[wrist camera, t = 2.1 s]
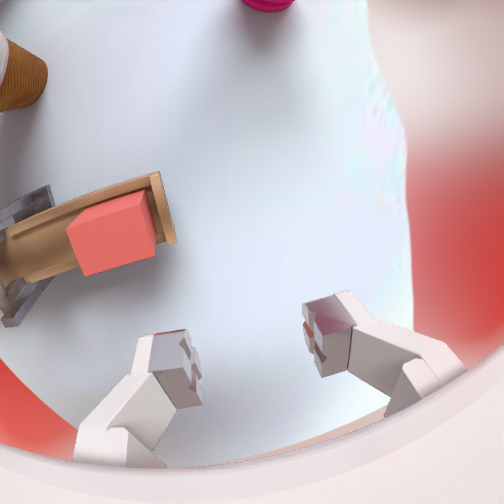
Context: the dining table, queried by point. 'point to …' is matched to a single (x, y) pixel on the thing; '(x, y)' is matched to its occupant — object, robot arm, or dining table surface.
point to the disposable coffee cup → (19, 76)
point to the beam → (66, 236)
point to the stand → (20, 211)
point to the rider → (113, 233)
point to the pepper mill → (268, 4)
